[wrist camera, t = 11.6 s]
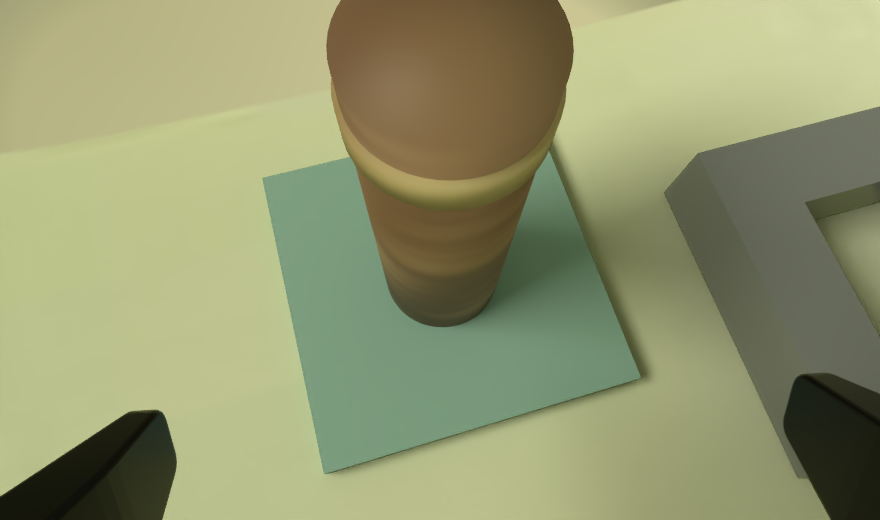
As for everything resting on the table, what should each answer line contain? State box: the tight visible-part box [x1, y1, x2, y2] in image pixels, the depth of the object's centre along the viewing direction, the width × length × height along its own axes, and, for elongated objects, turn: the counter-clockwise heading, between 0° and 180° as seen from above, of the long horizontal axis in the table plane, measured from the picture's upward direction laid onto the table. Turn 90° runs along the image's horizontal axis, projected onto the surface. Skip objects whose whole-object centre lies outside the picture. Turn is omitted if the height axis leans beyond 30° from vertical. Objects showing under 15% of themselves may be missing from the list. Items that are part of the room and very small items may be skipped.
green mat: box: [263, 151, 641, 474], centre depth 21 cm, size 11×11×1 cm
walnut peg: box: [327, 0, 574, 327], centre depth 15 cm, size 4×4×12 cm
